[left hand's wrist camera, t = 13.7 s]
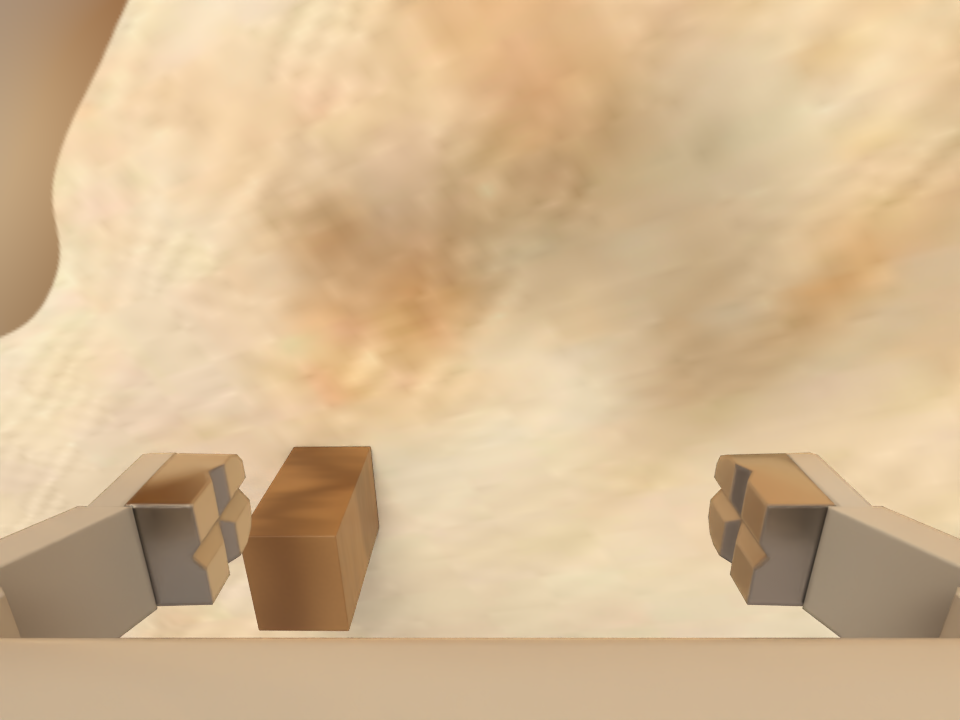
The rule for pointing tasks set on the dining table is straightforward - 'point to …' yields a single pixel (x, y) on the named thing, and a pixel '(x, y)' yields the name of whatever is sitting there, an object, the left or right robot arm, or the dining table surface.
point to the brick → (313, 540)
